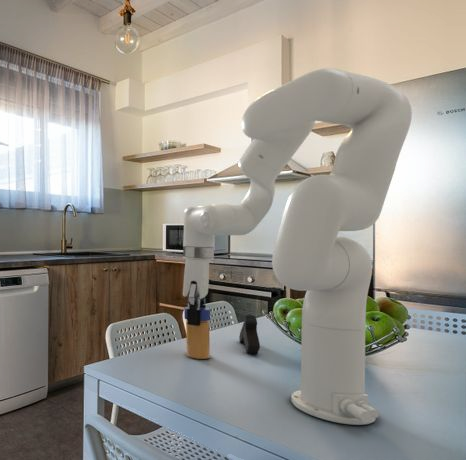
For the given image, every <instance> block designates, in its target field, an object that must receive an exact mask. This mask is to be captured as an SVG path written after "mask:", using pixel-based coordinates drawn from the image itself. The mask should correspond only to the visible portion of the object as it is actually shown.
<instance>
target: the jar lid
mask: <svg viewBox="0 0 466 460" xmlns="http://www.w3.org/2000/svg"><path fill="white" fill-rule="evenodd" d="M183 309H184V311H183V313H184V319H185V320H187V309H188V306H186V307H183ZM200 310H201V321H209V322H210V321H211V308H209V307H200Z"/></svg>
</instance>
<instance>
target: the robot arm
mask: <svg viewBox="0 0 466 460" xmlns="http://www.w3.org/2000/svg"><path fill="white" fill-rule="evenodd" d="M412 113H413V112H412V106H411V103H410V100H409V99H408V97H407V96H406V94H405V93H404V92H403V91H402V90H400V89H399V88H397V87H396V86H394V85H392V84H390V83H388V82H387V81H384V80H380V79H377V78H375V77H370V76H367V75H364V74H360V73H359V74H358V73H354V72H350V71H347V70H343V69H340V68H339V69H338V68H328V67H327V68H320V69H316V70H313V71H310V72H308V73H304V74H303V75H300V76H299V77H297V78H294V79H292V80H291V81H288V82H286V83H284V84H282V85H280V86H278V87H276V88H274V89H272V90H270V91H268V92H265V93H264V94H263V95H260V96H259V97H257V98H256V99H255V100H254V101H252V102H251V103H250V105H249V106H248V107H247V108H246V109H245V111H244V113H243V116H242V118H241V129H242V132H243V133H244V135H245V136H246V137H247V138H249V139H251V140H252V141H251V142H250V143H249V144H248V146H247V148H246V149H245V151H244V153H243V154H242V155H241V157H240V158H239V160H238V164H237V166H238V169H239V171H240V172H241V173H242V174H243V175H244V176H245V178H248V179H249V181H250V183H249V189H248V191H247V193H246V194H245V196H244V197H243V199H242V200H241V201H240V202H239V204H218V203H215V204H213V203H212V204H207V205H192V206H191V205H190V206H187V207H186V208H185V209H184V213H183V239H182V240H183V245H182V247H183V248H182V259H183V260H185V263H184V270H183V285H182V286H183V287H182V297H183V298H187V297H188V300H187V307H188V309H187V319H186V320H187V324H188V325H195V326H200V324H201V310H200V307H206V306H207V305H206V296H207V295H208V293H209V284H210V281H209V280H210V261H214V260H215V236H245V235H247V234H250V233H251V232H252V231H254V230H255V229H256V228H257V227H258V226H259V224H260V223H261V222H262V221H263V219H264V218H265V217H266V216H267V214H268V213H269V211H270V210H271V208H272V206H273V202H274V198H275V192H276V191H275V190H276V187H275V183H276V180H277V178H278V177H279V175H281V173H282V171H283V170H284V168H285V167H286V166H287V165H288V163H289V162H290V161H291V159H292V158H293V156H294V155H295V154H296V153H297V152H298V150H299V149H300V147H301V146H302V144H303V143H304V142H305V140H307V138H308V137H309V135H310V134H311V132H312V130H313V129H314V127H315V125H316V122H321V123H327V124H332V125H339V126H344V127H347V128H348V129H350V131H349V133H348V134H347V135H346V136H345V138H344V139H343V140H342V142H341V143H340V144H339V146H338V148H337V150H336V154H335V157H334V161H333V164H332V167H331V170H330V173H329V174H315V175H311V176H309V177H307V178H304V179H303V180H302V181H300V182H299V183H298V184H297V185H296V186H295V187H294V188H293V190H292V191H291V192H290V193H289V196H288V198H287V200H286V203H285V206H284V209H283V213H282V217H281V220H280V224H279V227H278V232H277V235H276V240H275V243H274V246H273V251H272V257H271V265H272V271H273V274H274V276H275V278H276V280H278V282H279V283H280V284H282V286H285V288H288V289H291V290H294V291H300V292H305V294H304V298H303V302H302V307H301V309H302V310H301V337H300V338H301V339H300V340H301V342H300V343H301V344H300V345H301V348H300V349H301V350H300V351H301V352H300V353H301V354H300V355H301V357H300V365H301V366H300V390H296V391H294V392H292V394H291V396H290V398H291V399H290V400H291V401H290V402H291V404H293V406H294V407H295V408H297V409H298V410H299V411H301V412H303V413H306V414H307V415H310V416H313V417H315V418H318V419H321V420H325V421H328V422H333V423H336V424H337V423H338V424H343V425H351V426H353V425H354V426H365V425H370V424H372V423H374V422H375V421H376V419H377V418H379V417H380V410H378V409H376V408H374V407H372V406H371V405H369V404H370V396H369V394H366V326H367V324H366V322H367V321H366V319H367V301H368V294H369V289H370V286H371V285H370V284H371V280H372V276H373V275H372V274H373V263H372V258H371V256H370V254H369V252H368V250H367V249H366V248H365V247H364V246H363V245H362V244H361V243H359V242H358V241H356V240H354V239H352V238H348V237H344V236H338V235H339V232H357V231H363V230H366V229H368V228H370V227H372V226H373V225H374V224H375V223H376V222H377V221H378V220H379V218H380V215H381V213H382V210H383V207H384V204H385V201H386V198H387V195H388V192H389V189H390V186H391V182H392V180H393V177H394V174H395V171H396V167H397V163H398V160H399V158H400V157H399V156H400V154H401V151H402V148H403V146H404V143H405V141H406V138H407V135H408V133H409V130H410V127H411V123H412V116H413V115H412ZM206 308H207V307H206Z"/></svg>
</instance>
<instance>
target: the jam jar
mask: <svg viewBox="0 0 466 460" xmlns="http://www.w3.org/2000/svg"><path fill="white" fill-rule="evenodd" d="M185 321H186V322H185V323H186V324H185V325H186V326H185V331H186V356H187V357H188V358H191V359H197V360H205V359H206V360H207V359H210V358H211V343H210V341H211V340H210V338H211V337H210V320H209V321H201V324H200V326H195V325H188V324H187V319H185Z"/></svg>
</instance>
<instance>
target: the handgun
mask: <svg viewBox="0 0 466 460" xmlns="http://www.w3.org/2000/svg"><path fill="white" fill-rule="evenodd" d="M238 339H239V344H244V348H245V353H246V354H247V355H258V354H259V352H260V348H261V344H260V339H259V335H258V320H257V318H256V316H255V315H253V314H251V313H249V314H247V315H245V318H244V320H243V323H242V326H241V329H240V331H239V337H238Z"/></svg>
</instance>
